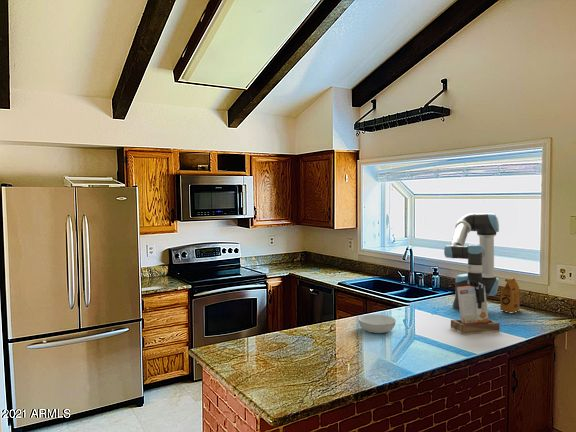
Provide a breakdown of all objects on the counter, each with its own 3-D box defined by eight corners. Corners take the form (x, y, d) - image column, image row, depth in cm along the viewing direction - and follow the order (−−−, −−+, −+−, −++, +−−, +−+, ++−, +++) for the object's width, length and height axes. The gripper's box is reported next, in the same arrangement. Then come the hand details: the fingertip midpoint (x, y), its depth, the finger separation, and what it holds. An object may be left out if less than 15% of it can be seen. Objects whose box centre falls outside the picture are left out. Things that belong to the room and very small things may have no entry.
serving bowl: (353, 333, 251) (353, 321, 251) (364, 324, 269) (364, 312, 269) (390, 338, 241) (390, 326, 241) (399, 328, 260) (399, 316, 260)
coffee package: (497, 311, 297) (497, 278, 296) (507, 308, 304) (507, 276, 303) (512, 314, 289) (512, 280, 288) (522, 311, 296) (522, 278, 295)
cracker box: (485, 320, 257) (481, 283, 256) (489, 322, 251) (485, 285, 250) (460, 322, 258) (456, 286, 257) (463, 325, 252) (460, 288, 251)
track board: (450, 328, 259) (450, 319, 259) (484, 325, 264) (484, 317, 263) (464, 335, 246) (464, 325, 246) (499, 332, 251) (499, 323, 251)
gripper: (458, 269, 263) (458, 308, 263) (479, 274, 243) (479, 317, 244) (470, 269, 264) (469, 308, 265) (492, 274, 245) (491, 316, 245)
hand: (474, 312), depth 254 cm, fingers closed on cracker box, 7 cm apart
